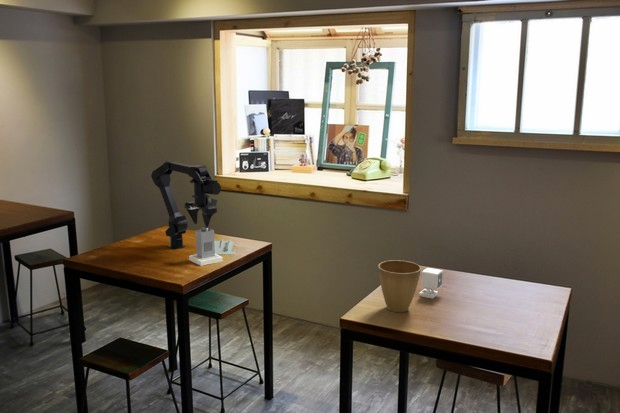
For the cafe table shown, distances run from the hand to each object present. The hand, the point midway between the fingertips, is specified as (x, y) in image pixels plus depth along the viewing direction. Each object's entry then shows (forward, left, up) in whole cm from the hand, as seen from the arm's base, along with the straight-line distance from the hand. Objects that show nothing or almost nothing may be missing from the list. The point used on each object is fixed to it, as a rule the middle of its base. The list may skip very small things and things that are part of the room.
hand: (201, 225), depth 288 cm
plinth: (+13, -7, -13) cm, 20 cm away
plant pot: (+110, +8, -13) cm, 111 cm away
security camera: (+110, +28, -13) cm, 114 cm away
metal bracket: (+5, +7, -14) cm, 16 cm away
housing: (+13, -7, -11) cm, 18 cm away
